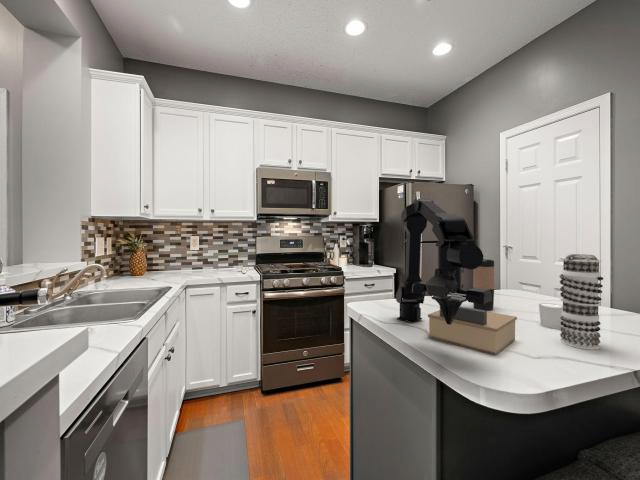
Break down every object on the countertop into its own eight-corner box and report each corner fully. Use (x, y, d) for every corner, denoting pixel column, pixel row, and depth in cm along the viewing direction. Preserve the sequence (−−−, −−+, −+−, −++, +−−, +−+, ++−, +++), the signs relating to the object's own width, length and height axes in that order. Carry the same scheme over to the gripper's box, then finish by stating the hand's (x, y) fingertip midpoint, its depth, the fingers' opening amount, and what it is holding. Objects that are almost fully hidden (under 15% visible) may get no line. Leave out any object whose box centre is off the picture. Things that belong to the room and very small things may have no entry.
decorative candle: (577, 337, 90) (578, 253, 89) (611, 349, 80) (613, 255, 80) (550, 338, 88) (551, 253, 88) (581, 351, 79) (583, 256, 79)
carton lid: (427, 317, 90) (427, 302, 90) (452, 307, 101) (452, 295, 101) (496, 332, 76) (496, 315, 76) (516, 319, 87) (516, 304, 87)
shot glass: (553, 330, 96) (554, 308, 96) (533, 324, 103) (533, 303, 103) (569, 328, 98) (570, 306, 98) (548, 322, 105) (549, 302, 105)
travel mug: (468, 307, 126) (469, 259, 125) (481, 305, 129) (481, 258, 128) (485, 311, 119) (486, 261, 118) (498, 309, 122) (498, 260, 121)
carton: (429, 337, 90) (429, 317, 90) (453, 326, 101) (453, 308, 101) (495, 355, 77) (495, 331, 77) (515, 340, 87) (515, 319, 87)
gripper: (401, 264, 80) (400, 322, 81) (474, 270, 66) (473, 341, 67) (422, 261, 88) (422, 314, 88) (492, 266, 74) (492, 330, 74)
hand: (449, 324), depth 79 cm, fingers closed
